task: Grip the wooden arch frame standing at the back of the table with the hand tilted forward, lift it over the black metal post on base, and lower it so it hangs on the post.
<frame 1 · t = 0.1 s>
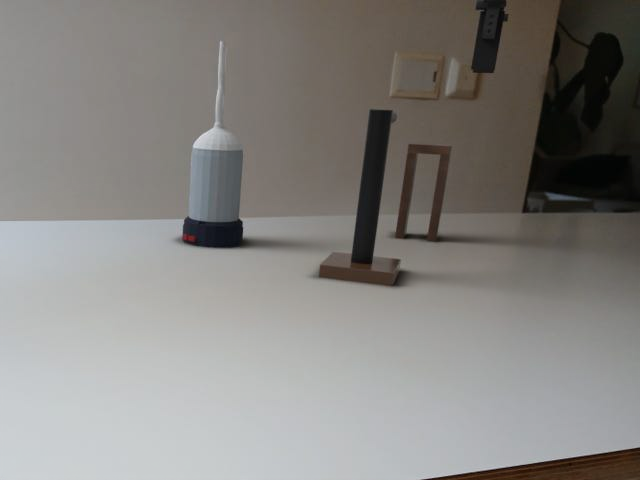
hand: (482, 71, 97), 23 cm above the table, tool pointing down, fingers open, 13 cm apart
humidifier: (212, 243, 100), on the table
post on base: (359, 274, 85), on the table
wooden arch frame: (416, 237, 108), on the table
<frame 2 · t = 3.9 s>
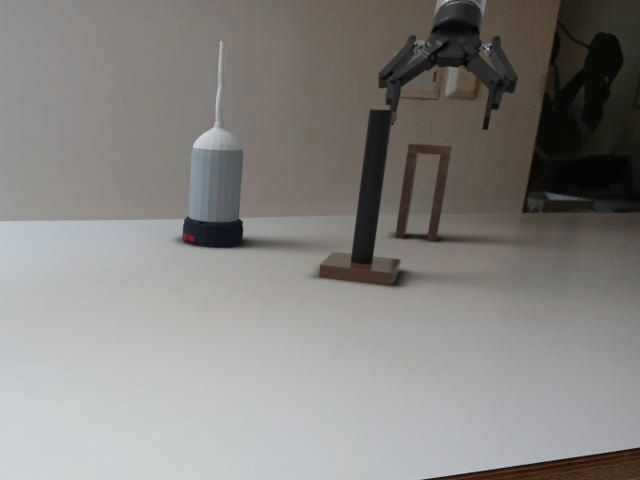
hand: (437, 121, 111), 16 cm above the table, tool tilted 45°, fingers open, 13 cm apart
nothing on the table moved.
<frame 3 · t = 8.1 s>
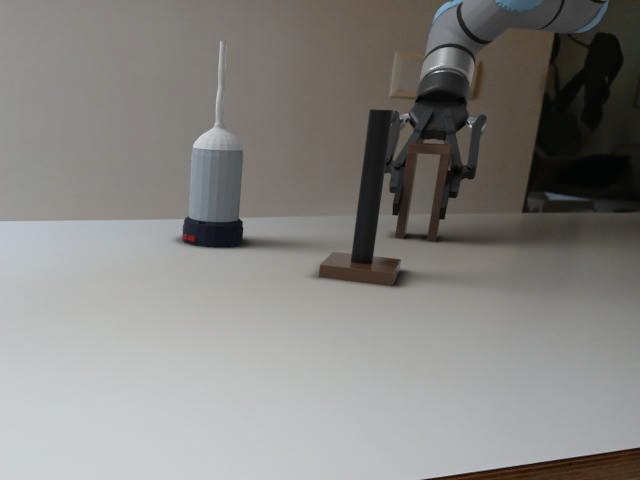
hand: (418, 211, 103), 4 cm above the table, tool tilted 45°, fingers closed on wooden arch frame, 6 cm apart
wooden arch frame: (416, 237, 108), on the table, touching gripper
everything else where it was.
when the fingers open (10 cm above the table, at t = 20.3 s): wooden arch frame stays where it is, resting on post on base.
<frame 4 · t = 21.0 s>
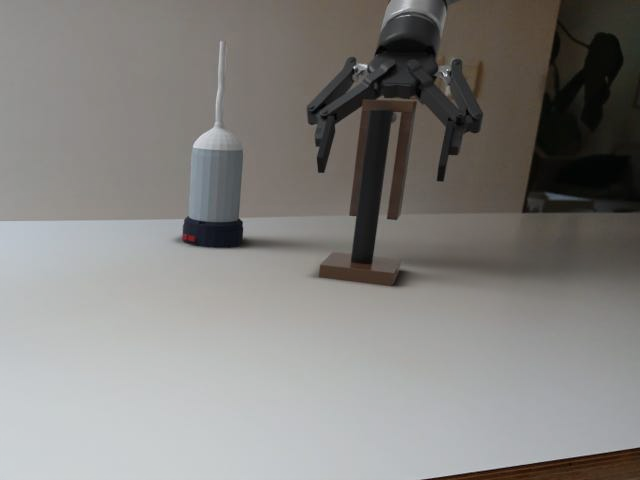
hand: (379, 169, 86), 11 cm above the table, tool tilted 45°, fingers open, 13 cm apart
wooden arch frame: (374, 215, 90), point 6 cm above the table, touching post on base
everything else where it was.
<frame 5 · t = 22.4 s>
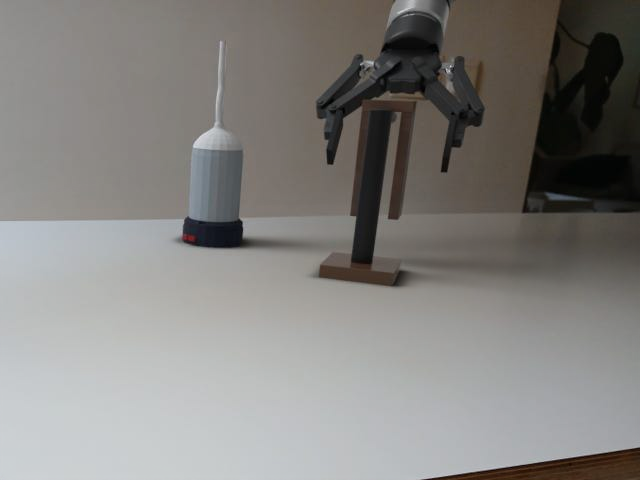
hand: (385, 161, 90), 12 cm above the table, tool tilted 45°, fingers open, 13 cm apart
nothing on the table moved.
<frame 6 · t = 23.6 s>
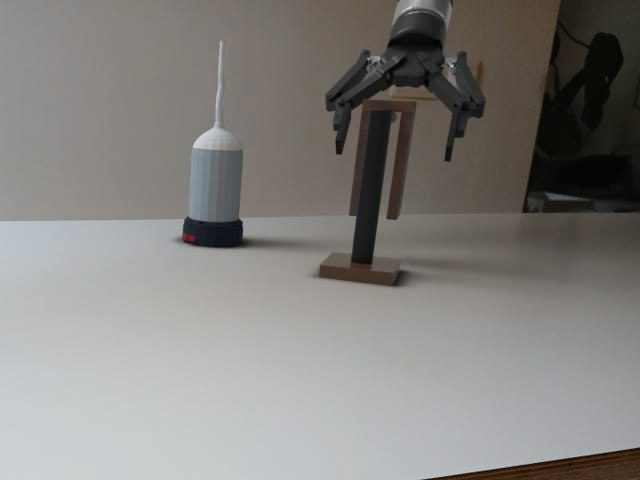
hand: (392, 151, 95), 13 cm above the table, tool tilted 45°, fingers open, 13 cm apart
nothing on the table moved.
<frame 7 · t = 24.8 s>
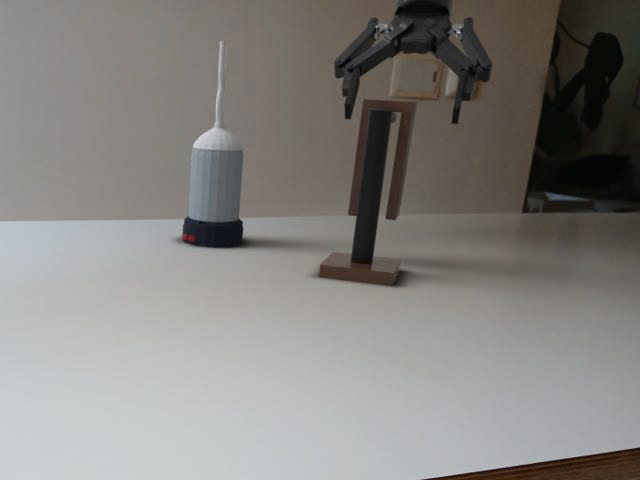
hand: (400, 114, 97), 17 cm above the table, tool tilted 45°, fingers open, 13 cm apart
nothing on the table moved.
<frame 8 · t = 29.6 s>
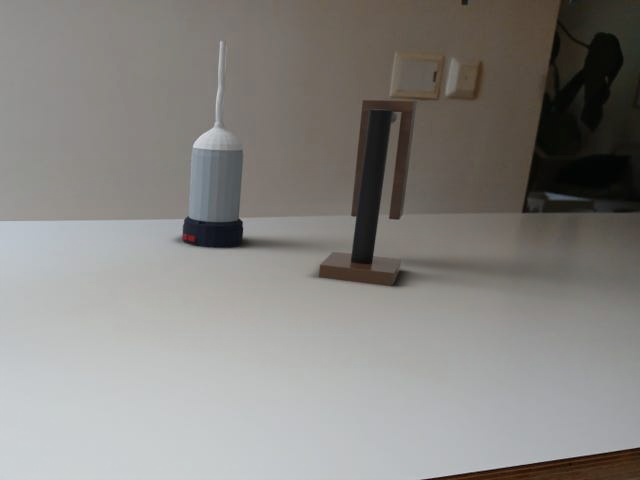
hand: (517, 4, 101), 32 cm above the table, tool pointing down, fingers open, 13 cm apart
nothing on the table moved.
at the end: wooden arch frame 0.2 cm from the target spot on the post on base, point 5.7 cm above the post on base's base; wooden arch frame touching post on base; the gripper is holding nothing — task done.
